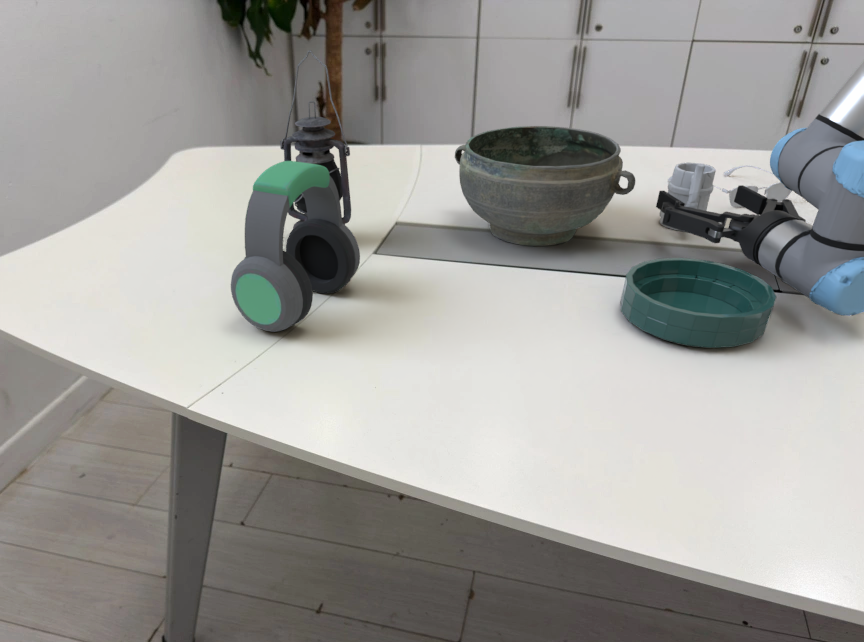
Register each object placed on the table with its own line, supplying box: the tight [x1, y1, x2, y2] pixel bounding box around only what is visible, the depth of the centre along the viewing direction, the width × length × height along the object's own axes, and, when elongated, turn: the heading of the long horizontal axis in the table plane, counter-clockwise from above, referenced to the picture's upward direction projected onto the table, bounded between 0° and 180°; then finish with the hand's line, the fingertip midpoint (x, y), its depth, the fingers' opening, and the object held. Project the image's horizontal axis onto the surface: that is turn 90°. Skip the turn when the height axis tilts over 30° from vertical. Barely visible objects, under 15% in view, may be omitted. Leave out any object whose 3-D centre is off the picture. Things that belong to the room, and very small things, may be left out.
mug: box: [659, 162, 717, 232], centre depth 113 cm, size 8×12×12 cm, turn 161°
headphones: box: [230, 160, 361, 333], centre depth 90 cm, size 19×11×20 cm, turn 151°
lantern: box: [279, 49, 352, 229], centre depth 107 cm, size 12×11×30 cm
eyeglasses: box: [667, 164, 793, 208], centre depth 131 cm, size 15×18×4 cm
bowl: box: [454, 125, 636, 247], centre depth 114 cm, size 32×26×15 cm
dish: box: [619, 257, 777, 349], centre depth 88 cm, size 18×18×5 cm
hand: (699, 196), depth 111 cm, fingers open, 13 cm apart
